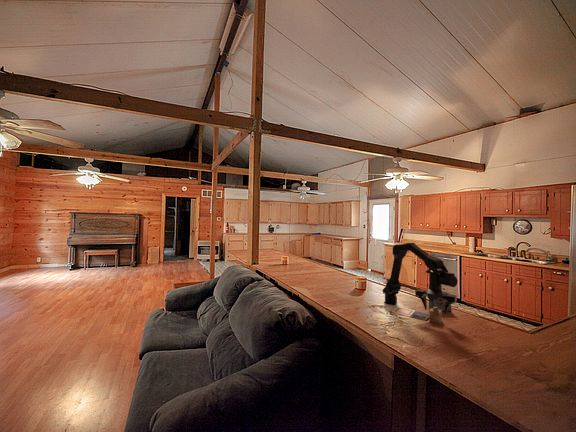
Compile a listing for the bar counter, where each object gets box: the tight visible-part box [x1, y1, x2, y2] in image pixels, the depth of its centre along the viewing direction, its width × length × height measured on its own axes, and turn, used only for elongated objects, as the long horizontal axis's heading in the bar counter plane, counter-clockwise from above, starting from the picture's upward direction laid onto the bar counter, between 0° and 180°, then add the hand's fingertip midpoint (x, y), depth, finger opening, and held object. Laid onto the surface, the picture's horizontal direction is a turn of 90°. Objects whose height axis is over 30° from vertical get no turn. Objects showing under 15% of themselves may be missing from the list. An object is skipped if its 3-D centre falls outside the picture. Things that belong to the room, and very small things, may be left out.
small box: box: [428, 291, 452, 313], centre depth 156 cm, size 11×6×10 cm, turn 84°
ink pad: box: [410, 310, 429, 321], centre depth 145 cm, size 8×8×1 cm
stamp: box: [428, 307, 443, 325], centre depth 138 cm, size 5×5×8 cm
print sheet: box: [391, 306, 417, 317], centre depth 153 cm, size 10×12×1 cm
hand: (435, 311), depth 138 cm, fingers open, 9 cm apart
